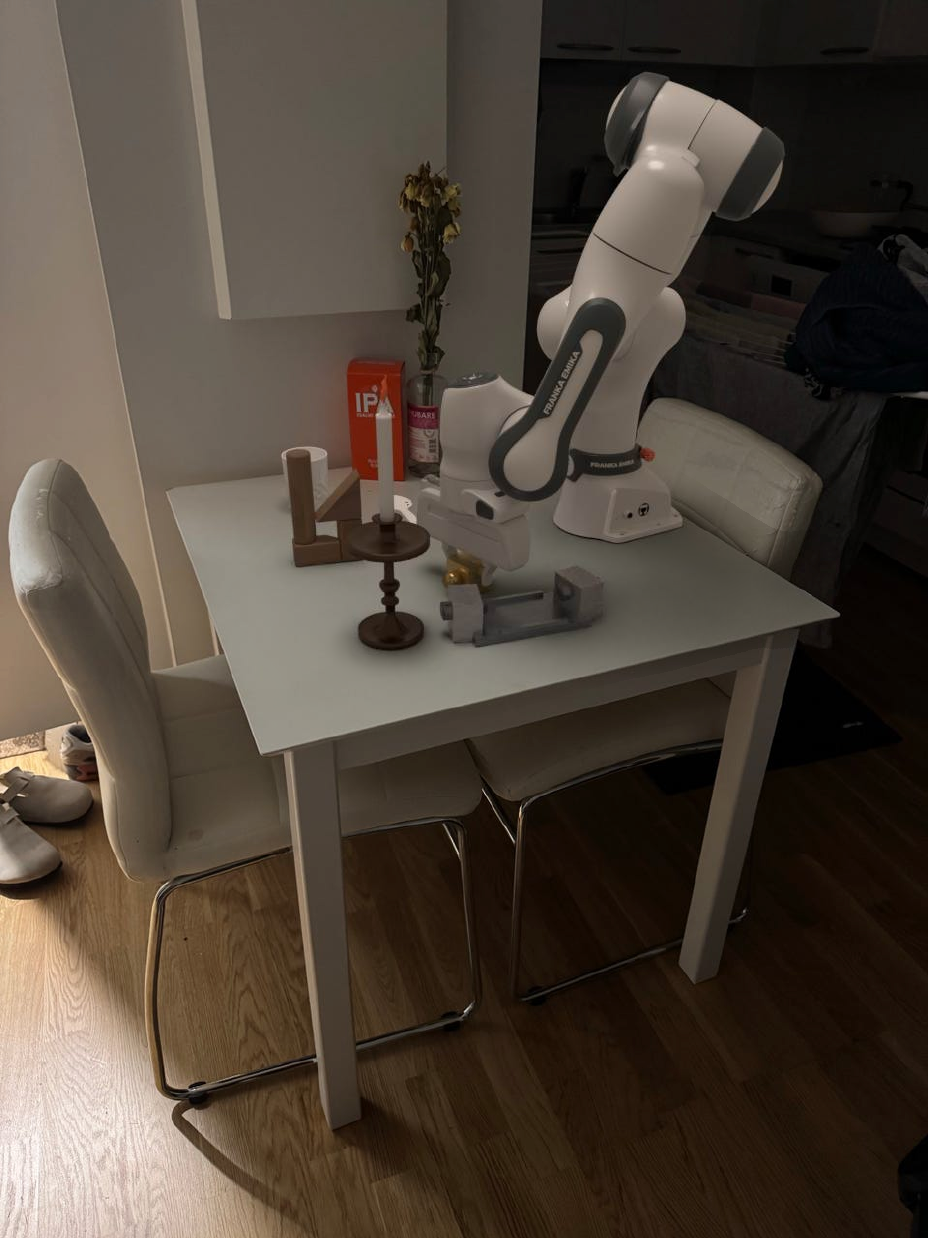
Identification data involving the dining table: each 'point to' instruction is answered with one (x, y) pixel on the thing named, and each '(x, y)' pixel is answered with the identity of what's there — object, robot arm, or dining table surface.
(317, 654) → the dining table surface
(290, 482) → the wooden toy blocks
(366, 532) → the candlestick
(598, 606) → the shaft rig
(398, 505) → the spoon
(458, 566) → the block
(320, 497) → the white cup
